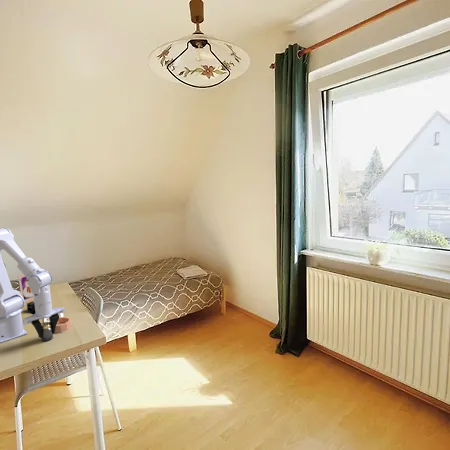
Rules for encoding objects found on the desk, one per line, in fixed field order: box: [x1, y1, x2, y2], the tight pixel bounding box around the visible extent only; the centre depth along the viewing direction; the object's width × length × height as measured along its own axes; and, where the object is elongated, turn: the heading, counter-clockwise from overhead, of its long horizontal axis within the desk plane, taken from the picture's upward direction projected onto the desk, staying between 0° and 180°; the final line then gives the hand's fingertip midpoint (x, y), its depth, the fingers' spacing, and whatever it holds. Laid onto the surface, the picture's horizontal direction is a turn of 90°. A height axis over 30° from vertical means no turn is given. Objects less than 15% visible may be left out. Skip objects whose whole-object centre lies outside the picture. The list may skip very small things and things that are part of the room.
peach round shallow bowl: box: [54, 316, 73, 334], centre depth 135 cm, size 9×9×3 cm
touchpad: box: [43, 313, 65, 323], centre depth 147 cm, size 8×15×2 cm, turn 29°
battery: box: [40, 321, 54, 342], centre depth 125 cm, size 4×4×7 cm
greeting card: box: [18, 272, 34, 303], centre depth 168 cm, size 11×7×15 cm, turn 155°
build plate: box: [22, 300, 36, 315], centre depth 153 cm, size 12×7×5 cm, turn 62°
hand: (46, 334), depth 125 cm, fingers closed on battery, 4 cm apart
